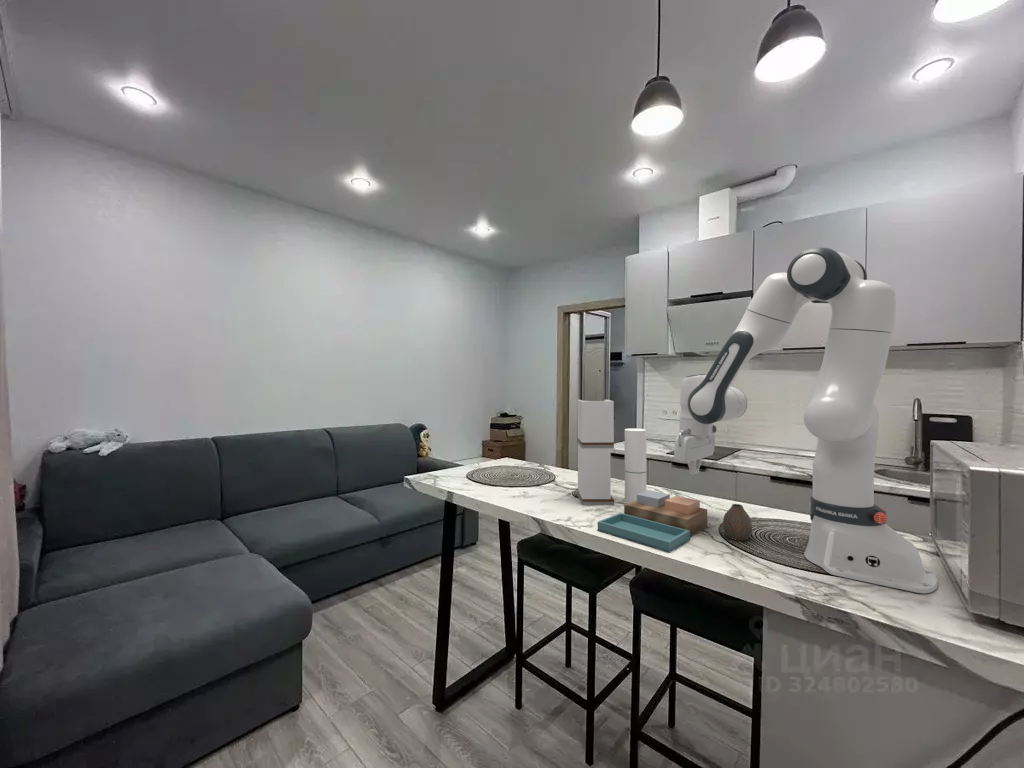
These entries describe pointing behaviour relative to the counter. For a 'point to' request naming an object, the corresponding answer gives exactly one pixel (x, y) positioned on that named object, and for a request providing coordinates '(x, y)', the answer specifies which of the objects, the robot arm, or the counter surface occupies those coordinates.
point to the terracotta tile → (682, 505)
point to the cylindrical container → (635, 463)
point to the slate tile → (652, 498)
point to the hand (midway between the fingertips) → (694, 473)
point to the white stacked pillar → (595, 451)
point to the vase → (737, 523)
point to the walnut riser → (669, 516)
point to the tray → (644, 531)
